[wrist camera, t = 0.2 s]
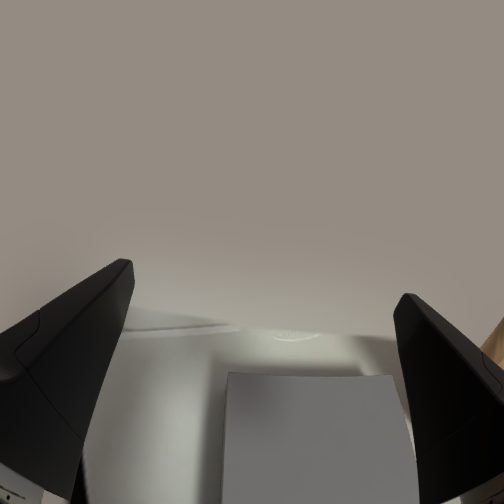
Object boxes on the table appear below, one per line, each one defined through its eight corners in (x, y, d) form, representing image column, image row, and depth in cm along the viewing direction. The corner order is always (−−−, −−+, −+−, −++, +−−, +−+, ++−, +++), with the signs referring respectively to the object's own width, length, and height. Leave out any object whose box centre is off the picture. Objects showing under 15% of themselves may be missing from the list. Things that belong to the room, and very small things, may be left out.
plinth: (405, 526, 13) (427, 520, 11) (218, 551, 12) (220, 554, 10) (377, 391, 24) (391, 374, 23) (225, 390, 23) (228, 371, 22)
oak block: (456, 454, 18) (547, 380, 11) (419, 435, 20) (507, 354, 13) (466, 416, 21) (542, 339, 15) (433, 397, 24) (505, 314, 17)
